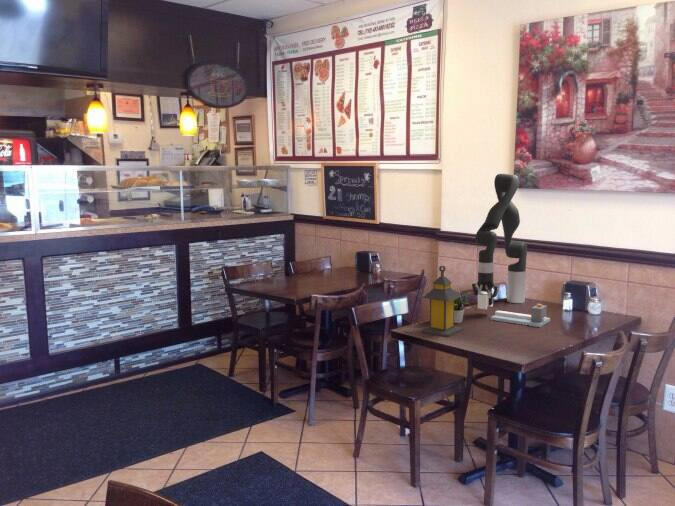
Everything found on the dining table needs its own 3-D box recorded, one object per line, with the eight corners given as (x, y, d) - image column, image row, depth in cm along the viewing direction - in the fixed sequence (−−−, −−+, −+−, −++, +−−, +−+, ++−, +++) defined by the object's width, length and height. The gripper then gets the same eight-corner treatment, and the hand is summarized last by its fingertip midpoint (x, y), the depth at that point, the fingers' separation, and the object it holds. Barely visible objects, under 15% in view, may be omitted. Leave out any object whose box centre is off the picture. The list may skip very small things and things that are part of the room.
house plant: (472, 326, 279) (473, 292, 277) (442, 325, 282) (443, 291, 280) (472, 319, 293) (472, 286, 291) (443, 318, 296) (443, 285, 293)
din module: (484, 305, 304) (484, 291, 303) (492, 306, 302) (493, 292, 300) (477, 308, 298) (477, 294, 297) (486, 309, 295) (486, 296, 294)
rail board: (502, 314, 302) (502, 296, 301) (550, 321, 287) (550, 302, 286) (490, 319, 291) (491, 301, 290) (539, 327, 276) (540, 307, 275)
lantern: (436, 325, 283) (436, 262, 278) (463, 330, 274) (464, 265, 269) (420, 332, 272) (420, 266, 268) (447, 337, 263) (448, 269, 259)
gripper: (502, 271, 296) (501, 305, 298) (475, 268, 304) (475, 301, 307) (496, 273, 290) (495, 308, 292) (469, 270, 298) (468, 304, 301)
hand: (485, 304), depth 300 cm, fingers closed on din module, 4 cm apart
